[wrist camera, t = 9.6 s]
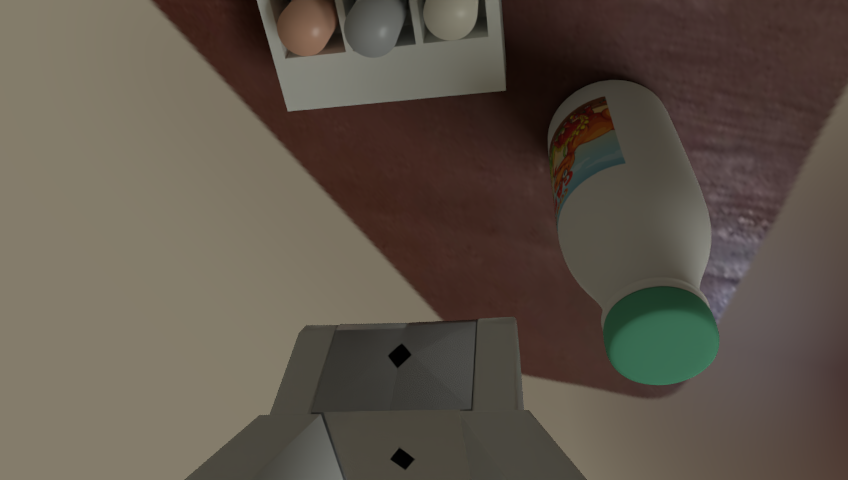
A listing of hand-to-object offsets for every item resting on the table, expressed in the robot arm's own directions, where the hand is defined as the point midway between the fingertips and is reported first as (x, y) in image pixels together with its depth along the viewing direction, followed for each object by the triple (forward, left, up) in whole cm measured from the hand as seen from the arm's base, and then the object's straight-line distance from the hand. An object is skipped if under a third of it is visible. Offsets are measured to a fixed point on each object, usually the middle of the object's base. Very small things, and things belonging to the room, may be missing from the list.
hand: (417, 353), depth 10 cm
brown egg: (+4, -10, -33) cm, 35 cm away
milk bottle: (+14, +7, -34) cm, 38 cm away
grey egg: (+4, -6, -32) cm, 32 cm away
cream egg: (+4, -2, -33) cm, 33 cm away
